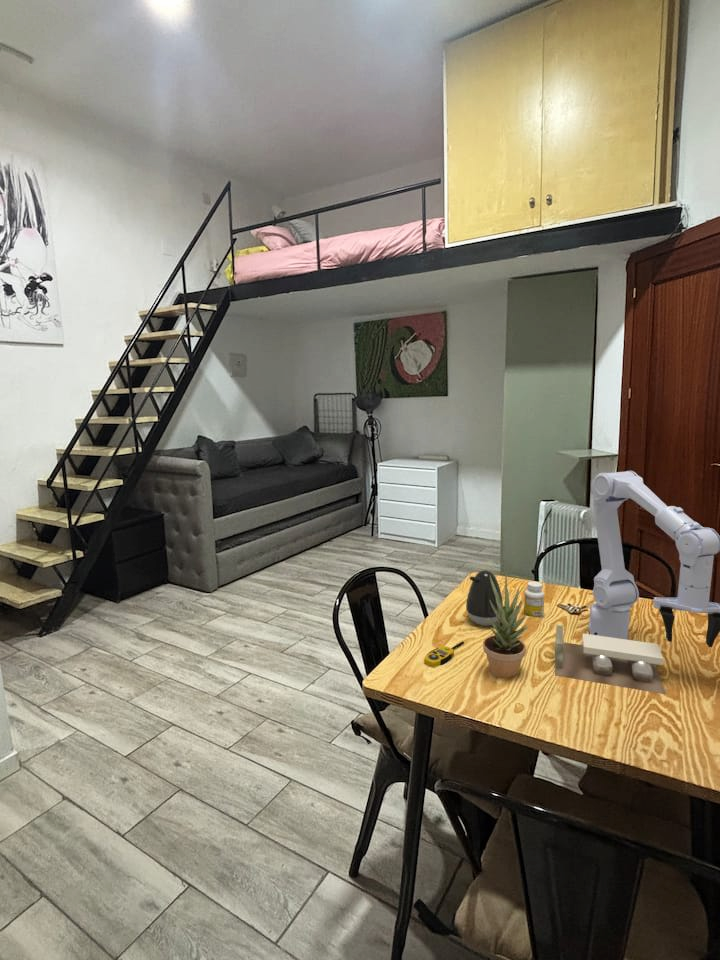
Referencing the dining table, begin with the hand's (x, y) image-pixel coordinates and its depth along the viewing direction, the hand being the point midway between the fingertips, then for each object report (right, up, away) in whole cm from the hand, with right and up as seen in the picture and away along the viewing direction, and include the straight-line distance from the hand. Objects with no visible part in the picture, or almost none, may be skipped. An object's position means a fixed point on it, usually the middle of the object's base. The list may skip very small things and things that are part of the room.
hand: (688, 642), depth 113 cm
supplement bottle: (-22, -4, +36) cm, 43 cm away
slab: (-12, -4, +5) cm, 14 cm away
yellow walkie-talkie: (-51, -8, +15) cm, 54 cm away
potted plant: (-39, -9, +6) cm, 41 cm away
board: (-15, -9, +7) cm, 19 cm away
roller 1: (-16, -8, +7) cm, 19 cm away
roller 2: (-9, -8, +5) cm, 12 cm away
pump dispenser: (-37, -5, +33) cm, 50 cm away
